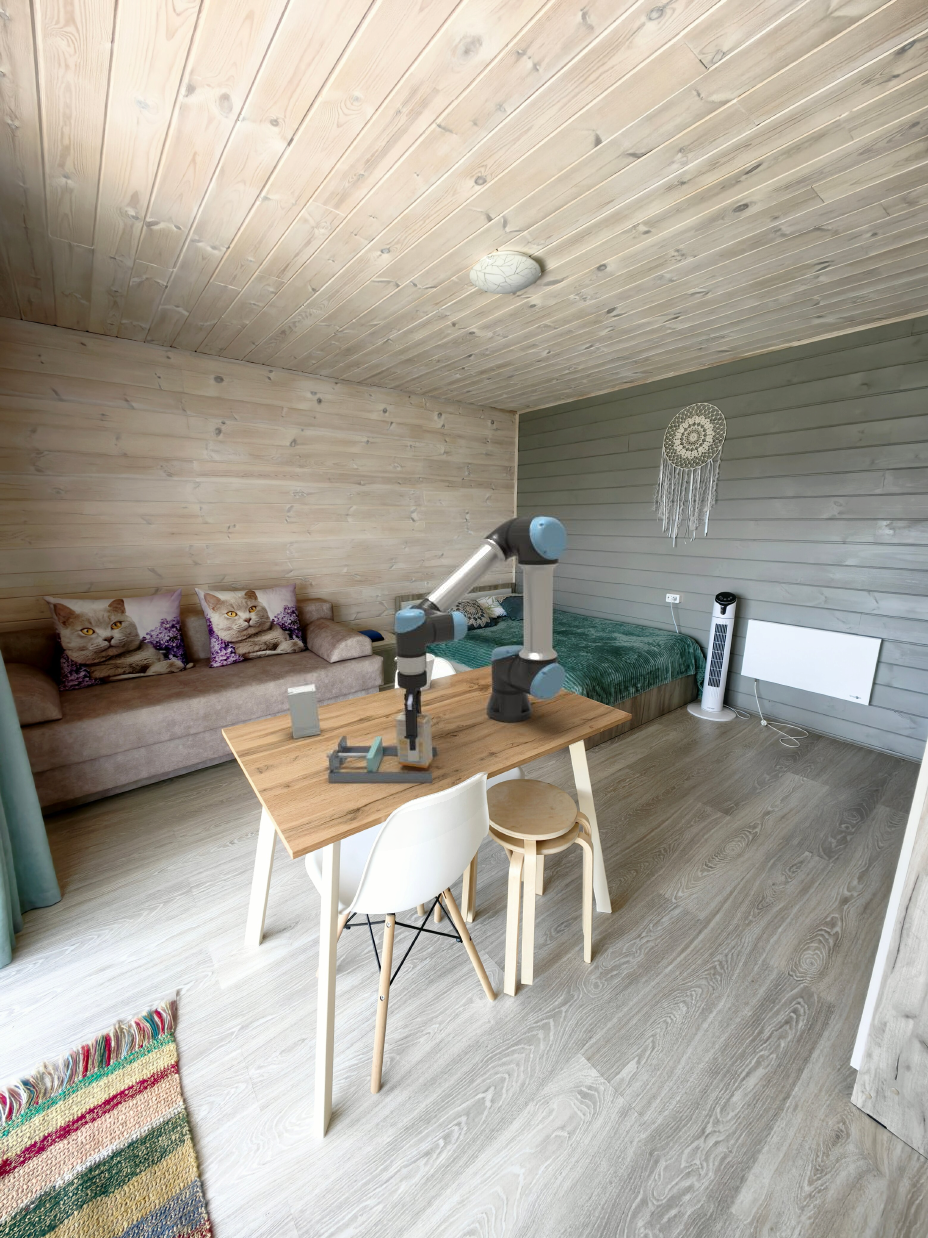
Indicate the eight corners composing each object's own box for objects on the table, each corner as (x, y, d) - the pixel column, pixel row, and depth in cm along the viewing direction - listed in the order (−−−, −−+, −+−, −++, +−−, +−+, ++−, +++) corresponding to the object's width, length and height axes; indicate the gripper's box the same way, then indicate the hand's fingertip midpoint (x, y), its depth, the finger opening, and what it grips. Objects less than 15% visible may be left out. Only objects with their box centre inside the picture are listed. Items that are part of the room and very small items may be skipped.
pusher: (382, 755, 133) (381, 736, 132) (373, 778, 122) (372, 758, 120) (334, 755, 134) (333, 736, 133) (320, 778, 122) (318, 758, 121)
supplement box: (433, 760, 128) (431, 714, 125) (426, 769, 123) (424, 721, 121) (405, 756, 130) (402, 711, 128) (397, 764, 126) (394, 718, 123)
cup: (401, 692, 183) (400, 661, 181) (410, 682, 195) (409, 652, 192) (432, 693, 181) (431, 662, 179) (438, 683, 193) (437, 653, 190)
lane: (437, 754, 134) (436, 734, 133) (432, 782, 120) (431, 760, 119) (345, 754, 135) (343, 734, 134) (329, 782, 121) (327, 760, 119)
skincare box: (319, 727, 153) (315, 683, 150) (320, 735, 148) (316, 689, 145) (291, 731, 150) (287, 686, 147) (292, 739, 145) (287, 693, 142)
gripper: (402, 659, 131) (406, 738, 136) (390, 682, 113) (395, 772, 117) (430, 659, 131) (432, 738, 136) (422, 682, 112) (425, 772, 117)
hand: (415, 754), depth 126 cm, fingers closed on supplement box, 6 cm apart
